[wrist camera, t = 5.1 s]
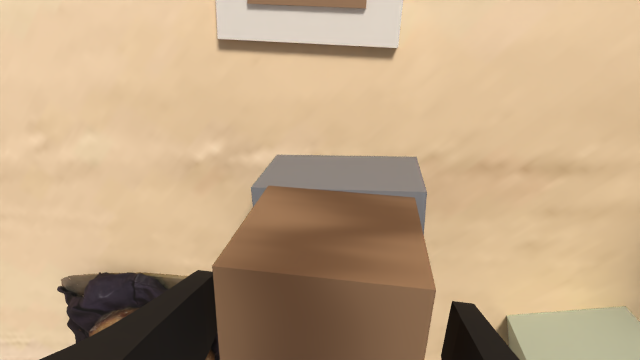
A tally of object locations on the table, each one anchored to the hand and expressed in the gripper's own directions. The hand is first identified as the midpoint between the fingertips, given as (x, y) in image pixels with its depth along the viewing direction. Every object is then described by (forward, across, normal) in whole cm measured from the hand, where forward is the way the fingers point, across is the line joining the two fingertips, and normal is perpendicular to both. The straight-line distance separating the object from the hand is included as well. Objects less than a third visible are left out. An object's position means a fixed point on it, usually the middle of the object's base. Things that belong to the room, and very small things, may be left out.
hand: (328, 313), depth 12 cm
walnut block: (+3, 0, 0) cm, 3 cm away
